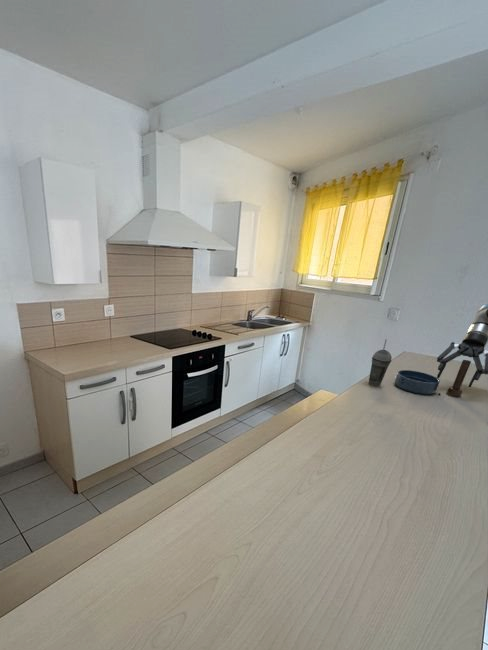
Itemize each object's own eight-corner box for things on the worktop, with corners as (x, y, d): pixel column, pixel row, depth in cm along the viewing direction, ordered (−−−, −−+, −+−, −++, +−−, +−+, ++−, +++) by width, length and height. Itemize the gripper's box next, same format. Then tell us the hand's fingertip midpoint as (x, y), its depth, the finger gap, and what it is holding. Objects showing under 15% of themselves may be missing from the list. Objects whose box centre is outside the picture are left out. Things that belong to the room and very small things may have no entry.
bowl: (438, 389, 139) (443, 377, 137) (431, 398, 129) (436, 386, 127) (399, 378, 149) (402, 367, 147) (389, 386, 139) (393, 375, 137)
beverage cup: (368, 386, 138) (381, 341, 130) (362, 380, 145) (374, 337, 137) (386, 388, 137) (400, 342, 129) (379, 382, 144) (393, 338, 136)
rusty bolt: (461, 395, 134) (475, 361, 128) (459, 398, 131) (473, 363, 125) (447, 391, 137) (460, 358, 131) (445, 394, 134) (458, 360, 128)
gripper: (509, 349, 130) (487, 395, 126) (443, 335, 144) (421, 376, 141) (515, 339, 124) (491, 386, 121) (445, 325, 139) (422, 367, 135)
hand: (453, 380), depth 131 cm, fingers open, 10 cm apart
